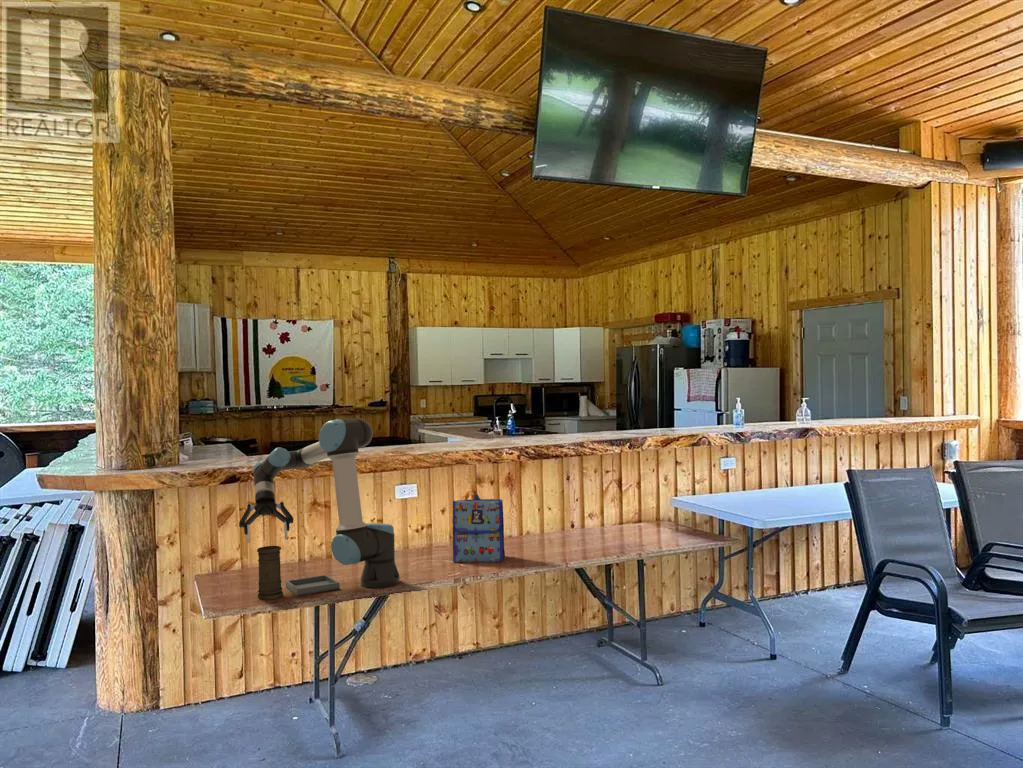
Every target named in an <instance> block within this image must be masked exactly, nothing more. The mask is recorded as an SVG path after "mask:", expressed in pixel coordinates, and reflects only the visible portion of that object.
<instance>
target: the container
mask: <svg viewBox="0 0 1023 768" xmlns="http://www.w3.org/2000/svg"><path fill="white" fill-rule="evenodd" d="M281 549H282V547H281V546H280V545H266V546H261V547H258V548H257V550H256V552H257V557H258V560H257V562H258V591H257V593H258V594H257V598H258V599H259V600H266V601H267V600H275V599H276V600H277V599H279V598H281V597H283V595H284V592H283V591H282V590H283V587H282V579H281V556H280V555H281Z"/></svg>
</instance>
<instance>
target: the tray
mask: <svg viewBox="0 0 1023 768" xmlns="http://www.w3.org/2000/svg"><path fill="white" fill-rule="evenodd" d="M340 585H341V584H340V582H339V581H337V580H336V579H334V578H333V577H331V576H330V575H327V574H322V575H321V574H320V575H315V576H308V577H303V578H296V579H295V578H294V579H290V580H289V579H288V580H285V588H286V589H287V590H288V591H290V592H291V591H292V592H291V593H293V594H294V595H295V594H296V595H295V596H297V597H299V596H298V595H301V596H306V595H305V594H307V595H312V593H313V594H318V593H317V592H319V593H324V592H323V591H325V592H329V590H331V591H335V590H334V589H337V590H341V589H340Z"/></svg>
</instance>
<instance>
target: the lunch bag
mask: <svg viewBox="0 0 1023 768" xmlns="http://www.w3.org/2000/svg"><path fill="white" fill-rule="evenodd" d="M504 519H505V518H504V504H503V499H501V498H500V499H499V498H490V499H489V498H480V496H479V494H478V493H475V494H474V496H473V499H463V500H462V499H461V500H460V499H459V500H458V499H457V500H453V501H452V521H451V523H452V561H453V562H452V563H503V561H504V559H503V558H504V557H505V556H506V552H505V527H504V524H505V523H504V521H505V520H504ZM503 556H504V557H503Z"/></svg>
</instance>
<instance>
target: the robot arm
mask: <svg viewBox="0 0 1023 768" xmlns="http://www.w3.org/2000/svg"><path fill="white" fill-rule="evenodd" d="M373 435H374V433H373V428H372V425H371V424H370V423H369V422H368V421H367V420H365V419H362V418H359V417H357V418H336V419H332V420H328V421H327V422H325V423H324V424H323V425H322V427H321V428H320V430H319V433H318V441H317V442H315V443H314V442H313V443H312V444H309V445H307V446H305V447H303V448H300V449H297V450H290V451H288V450H287V449H286V448H283V447H275V449H273V450H272V451H271V452H270V453H269V455H268V456H267V457H266V458H265V460H261V461H259V462H257V463H256V464H255V465H254V466H253V474H252V475H253V486H254V501H255V502H254V503H255V504H254V505H251V504H250V503H248V504H247V506H246V509H245V511H244V513H243V514H242V516H241V518H240V520H239V522H238V527H239V528H243V529H244V530H243V531H244V532H243V534H244V535H246V536H247V543H251V531H250V525H252V524H253V522H254V521H255V520H256V519H257V518H259V517H260V516H262V517H263V516H271V515H272V516H273V517H275V518H277V519H278V520H279V521H281V522H282V523H283V530H284V532H283V533H284V540H288V532H289V531H290V528H291V527H290V524H293V523H294V517H293V515H292V514H291V513H290V512H289V510H288V509H287V508H286V506H285V504H284V502H283V501H280V502H279V503H276V497H275V484H274V480H275V478H276V477H277V476H278V474H280V472H282V471H286V470H287V471H289V470H294V469H295V470H296V469H306V468H310V467H312V466H314V464H316V463H318V462H321V461H323V460H325V459H327V458H328V459H329V460H330V461H331V462H332V463H331V464H332V471H333V472H332V473H333V478H334V479H333V480H334V488H335V489H334V490H335V496H336V507H337V513H338V514H337V515H338V526H337V527H336V528H335V536H334V537H333V538H332V541H331V543H330V547H331V548H330V550H331V553H332V555H333V558H334V559H335V560H336V561H337V562H338V563H340V564H341V565H345V566H350V565H357V564H358V563H362V562H364V565H363V569H362V572H361V575H360V578H359V580H360V585H361V586H362V587H365V588H375V589H376V588H387V587H392V586H395V585H398V584H399V583H400V582H401V579H400V576H401V575H400V573H399V570H398V568H397V565H396V560H395V554H396V553H395V535H396V534H395V529H394V526H393V524H390V523H380V522H375V523H374V522H371V523H366V522H365V521H363V515H362V505H361V496H360V489H359V480H358V470H357V461H356V457H357V456H358V454H359V453H360V452H359V449H361V448H364V447H366V446H368V445H369V444H370V443H371V441H372V439H373ZM311 465H312V466H311ZM309 466H310V467H309ZM277 508H278V509H279V510H280V511H281V512H280V511H279V510H278V509H277ZM253 510H254V513H252V514H251V512H252V511H253ZM250 514H251V516H250ZM249 516H250V517H249Z"/></svg>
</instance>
